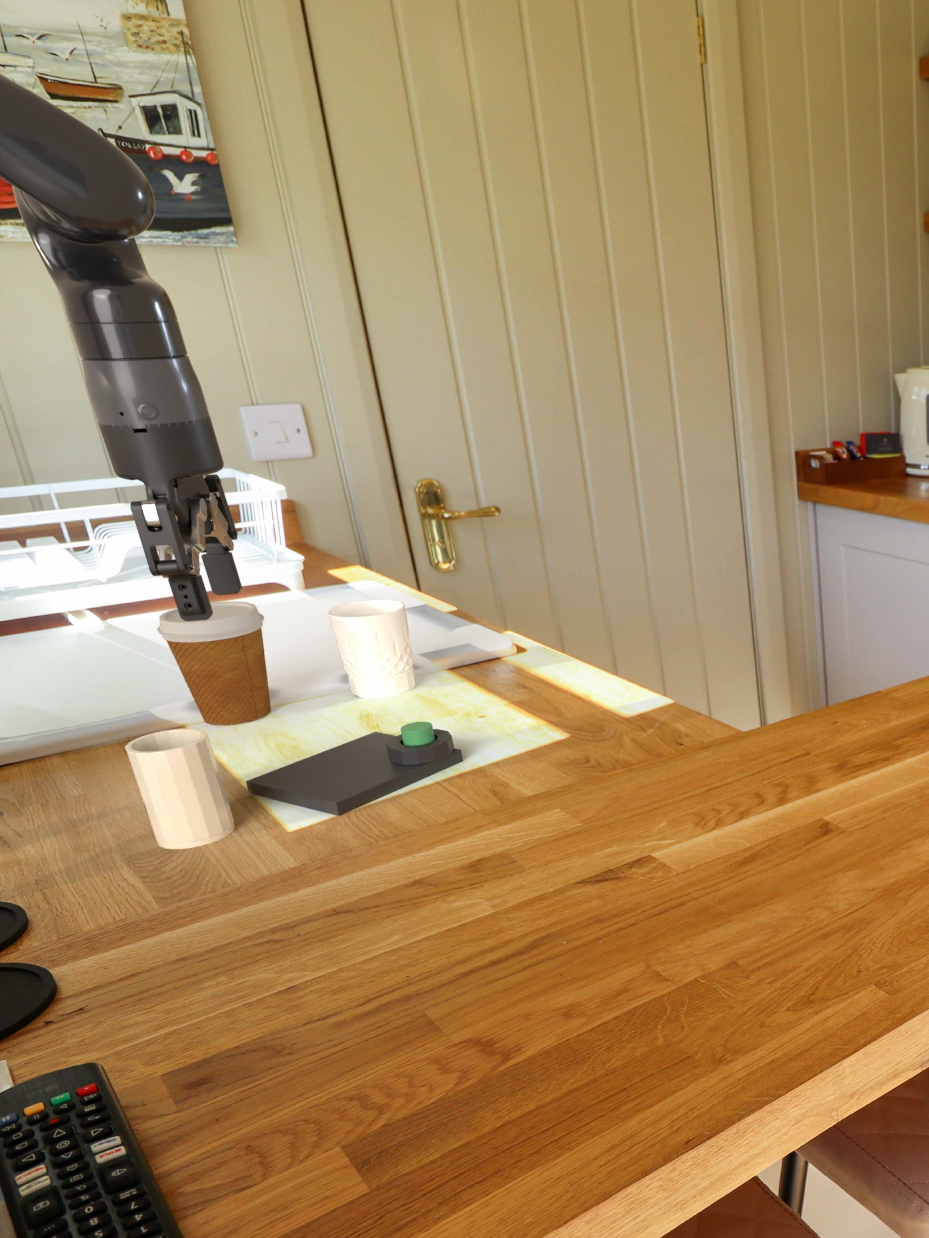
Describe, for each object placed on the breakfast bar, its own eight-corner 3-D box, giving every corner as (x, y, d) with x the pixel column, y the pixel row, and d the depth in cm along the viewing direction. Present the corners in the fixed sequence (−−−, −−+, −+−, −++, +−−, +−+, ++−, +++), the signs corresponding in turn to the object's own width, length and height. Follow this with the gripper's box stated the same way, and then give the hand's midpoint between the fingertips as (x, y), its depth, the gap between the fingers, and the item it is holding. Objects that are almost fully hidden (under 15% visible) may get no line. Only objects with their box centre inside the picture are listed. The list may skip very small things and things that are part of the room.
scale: (342, 817, 99) (334, 787, 98) (249, 794, 103) (240, 765, 102) (469, 761, 112) (463, 733, 110) (381, 742, 116) (375, 716, 114)
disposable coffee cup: (180, 713, 122) (147, 609, 118) (278, 695, 128) (251, 595, 123) (193, 738, 116) (160, 629, 111) (296, 717, 122) (269, 613, 117)
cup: (185, 854, 92) (153, 757, 89) (142, 842, 94) (109, 746, 91) (249, 827, 97) (222, 734, 94) (207, 816, 99) (178, 724, 95)
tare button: (418, 749, 107) (414, 733, 107) (397, 745, 108) (393, 728, 108) (441, 740, 110) (438, 723, 109) (421, 735, 111) (417, 719, 110)
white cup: (401, 701, 127) (382, 618, 123) (333, 700, 127) (312, 617, 123) (433, 679, 134) (417, 600, 130) (369, 678, 134) (351, 599, 130)
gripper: (132, 408, 95) (191, 589, 102) (61, 428, 83) (133, 633, 89) (232, 405, 97) (283, 583, 104) (177, 424, 85) (239, 624, 91)
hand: (213, 606), depth 97 cm, fingers open, 8 cm apart
